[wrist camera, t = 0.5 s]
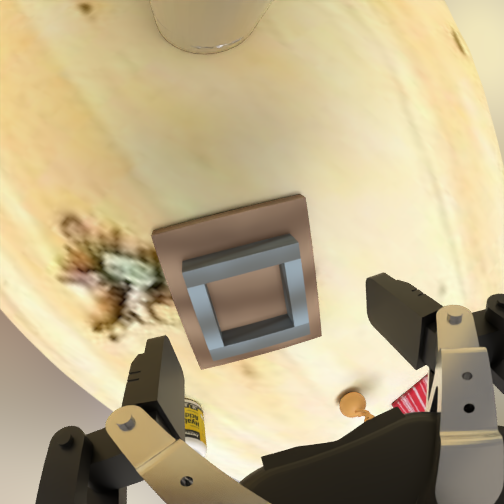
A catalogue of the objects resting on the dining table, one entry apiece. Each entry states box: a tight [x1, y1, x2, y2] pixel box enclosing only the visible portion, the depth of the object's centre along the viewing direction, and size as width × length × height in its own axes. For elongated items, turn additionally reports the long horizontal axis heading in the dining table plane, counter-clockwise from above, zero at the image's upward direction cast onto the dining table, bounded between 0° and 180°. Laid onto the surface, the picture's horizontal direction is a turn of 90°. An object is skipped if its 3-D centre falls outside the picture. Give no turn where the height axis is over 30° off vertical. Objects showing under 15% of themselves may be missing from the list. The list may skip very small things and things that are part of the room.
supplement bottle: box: [184, 399, 207, 457], centre depth 32 cm, size 5×5×10 cm
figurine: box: [340, 392, 374, 422], centre depth 36 cm, size 8×6×12 cm
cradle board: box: [151, 194, 322, 370], centre depth 29 cm, size 16×14×4 cm
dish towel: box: [392, 374, 428, 414], centre depth 47 cm, size 17×24×3 cm
